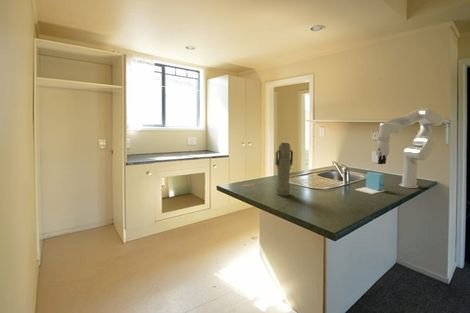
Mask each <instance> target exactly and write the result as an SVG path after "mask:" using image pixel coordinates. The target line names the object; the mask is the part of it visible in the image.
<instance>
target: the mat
mask: <svg viewBox="0 0 470 313" xmlns="http://www.w3.org/2000/svg"><path fill="white" fill-rule="evenodd" d="M354 191H357V192H361V193H366V194H369V195H375V194H379V193H384V192H386V190H385V189H383V190H379V191H377V190H373V189H370V188H367V187H366V186H364V187H359V188H354Z"/></svg>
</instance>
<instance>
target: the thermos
mask: <svg viewBox="0 0 470 313" xmlns="http://www.w3.org/2000/svg"><path fill="white" fill-rule="evenodd" d="M293 160H294V151H293V150H292V149H291V145H290V143H288V142H281V143H279V146H278V150H276V151H275V165H276V169H277V178H276V180H277V181H276V184H275V186H276V187H275V188H276V189H275V190H276V193H275V194H276V195H277V196H282V197H286V196H287V197H288V196H290V188H291V185H290V170H291V166H292V165H293V162H294V161H293Z"/></svg>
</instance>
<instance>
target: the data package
mask: <svg viewBox="0 0 470 313" xmlns="http://www.w3.org/2000/svg"><path fill="white" fill-rule="evenodd" d="M365 178H366V179H365V187H367V188H370V189H373V190H377V191H379V190H384V185H385V183H384V182H385V175H384V173H379V172H376V171H370V172H369V171H368V172H367V173H366V177H365Z"/></svg>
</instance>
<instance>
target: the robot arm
mask: <svg viewBox="0 0 470 313" xmlns="http://www.w3.org/2000/svg"><path fill="white" fill-rule="evenodd" d="M444 120H445V118H444V116H443V115H442V114H441V113H439V112H437V111H435V110H433V109H431V108H418V109H415V110H413V111H411V112H408V113H407V114H404V115H402V116H399V117H396V118H391V119H389V120H387V121H386V122H380V123H379V128H378V138H377V139H378V140H377V144H376V148H375V149H376V150H375V154H376V156H377V158H378V160H377V161H378V162H377V163H378V164H379V165H383V164H384V165H386V164H387V156H388V155H389V152H390V141H391V140H390V139H391V133H392V134H399V133H400V132H402V130H403V128H404V127H409V126H411V125H414V124H415V123H417V122H418V124H419V131H418V133H417V134H416V136H414V138H413V140H412V146H408V147H405V148H404V149H403V165H402V166H403V169H402V175H401V176H402V177H401V178H402V179H401V182H400V183H399V184H398V185H399V186H400V187H402V188H406V189H407V188H408V189H409V188H411V189H418V188H419V185H417V183H418V181H417V179H418V169H419V162H418V161H426V160H428V159H429V157H430V156H431V154H432V153H433V151H434V150H435V149H436V147H437V139H436V137H434V136H432V134H433V130H432V128H431V126H441V125H442V124H444Z"/></svg>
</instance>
